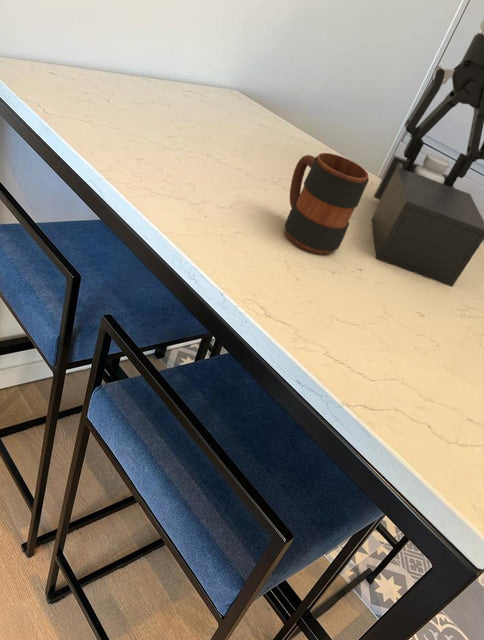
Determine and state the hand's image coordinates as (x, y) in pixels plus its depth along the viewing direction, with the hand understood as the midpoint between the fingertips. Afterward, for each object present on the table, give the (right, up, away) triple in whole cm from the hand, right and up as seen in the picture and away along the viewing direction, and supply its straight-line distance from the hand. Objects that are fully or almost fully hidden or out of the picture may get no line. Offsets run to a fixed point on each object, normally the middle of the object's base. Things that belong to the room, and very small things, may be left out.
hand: (422, 184), depth 97 cm
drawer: (-2, -4, +4) cm, 6 cm away
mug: (-22, -11, -12) cm, 28 cm away
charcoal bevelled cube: (-4, -12, -5) cm, 14 cm away
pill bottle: (-1, -4, +3) cm, 5 cm away
